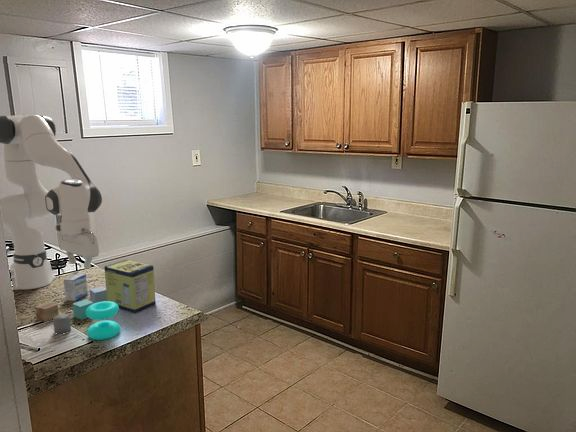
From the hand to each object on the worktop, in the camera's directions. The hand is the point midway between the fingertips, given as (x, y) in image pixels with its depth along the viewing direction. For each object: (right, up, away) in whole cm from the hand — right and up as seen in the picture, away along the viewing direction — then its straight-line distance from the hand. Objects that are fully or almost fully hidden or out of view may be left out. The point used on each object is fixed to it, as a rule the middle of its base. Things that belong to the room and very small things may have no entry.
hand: (80, 265), depth 161 cm
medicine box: (-11, -15, +21) cm, 28 cm away
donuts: (+13, -22, -10) cm, 27 cm away
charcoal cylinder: (-2, -21, -8) cm, 23 cm away
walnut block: (-12, -19, +1) cm, 23 cm away
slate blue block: (0, -16, +17) cm, 23 cm away
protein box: (+13, -17, +14) cm, 26 cm away
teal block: (0, -19, +4) cm, 19 cm away
